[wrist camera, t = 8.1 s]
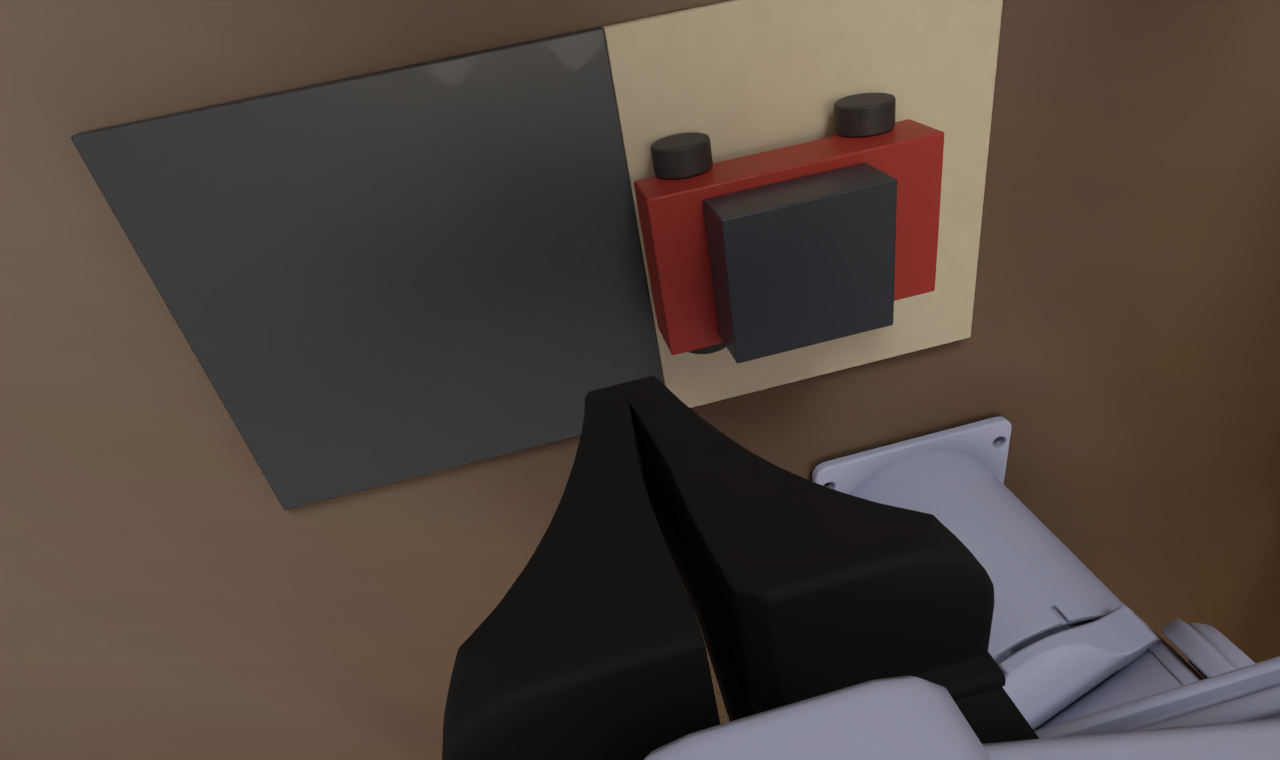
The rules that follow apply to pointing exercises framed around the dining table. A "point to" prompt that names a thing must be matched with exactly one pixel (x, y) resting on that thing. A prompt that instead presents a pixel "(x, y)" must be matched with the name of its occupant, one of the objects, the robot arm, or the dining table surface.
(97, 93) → the dining table surface
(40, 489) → the dining table surface
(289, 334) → the road board
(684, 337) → the toy car
